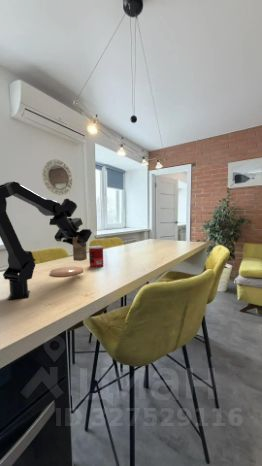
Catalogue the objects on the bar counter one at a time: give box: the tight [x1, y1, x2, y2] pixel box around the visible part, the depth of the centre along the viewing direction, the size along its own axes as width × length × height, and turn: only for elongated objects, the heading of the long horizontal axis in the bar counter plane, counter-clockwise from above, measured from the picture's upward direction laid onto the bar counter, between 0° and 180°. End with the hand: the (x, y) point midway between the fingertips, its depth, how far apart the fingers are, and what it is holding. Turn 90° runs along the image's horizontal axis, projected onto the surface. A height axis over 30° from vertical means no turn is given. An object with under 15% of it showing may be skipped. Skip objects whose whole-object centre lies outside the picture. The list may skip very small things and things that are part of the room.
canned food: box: [88, 245, 104, 268], centre depth 125 cm, size 8×8×11 cm
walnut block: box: [72, 238, 88, 262], centre depth 108 cm, size 4×4×13 cm
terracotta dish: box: [49, 266, 84, 278], centre depth 112 cm, size 16×16×1 cm
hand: (81, 246), depth 109 cm, fingers closed on walnut block, 4 cm apart
